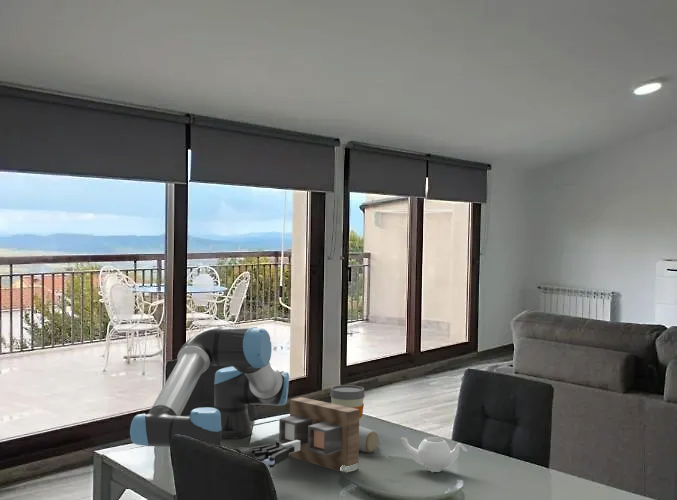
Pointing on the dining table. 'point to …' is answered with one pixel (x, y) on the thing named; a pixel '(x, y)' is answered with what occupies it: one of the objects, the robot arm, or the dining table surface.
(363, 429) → the grey canister
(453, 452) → the teapot
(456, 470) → the dining table surface
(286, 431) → the white key
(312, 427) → the key panel
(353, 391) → the reusable coffee cup
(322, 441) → the terracotta key
